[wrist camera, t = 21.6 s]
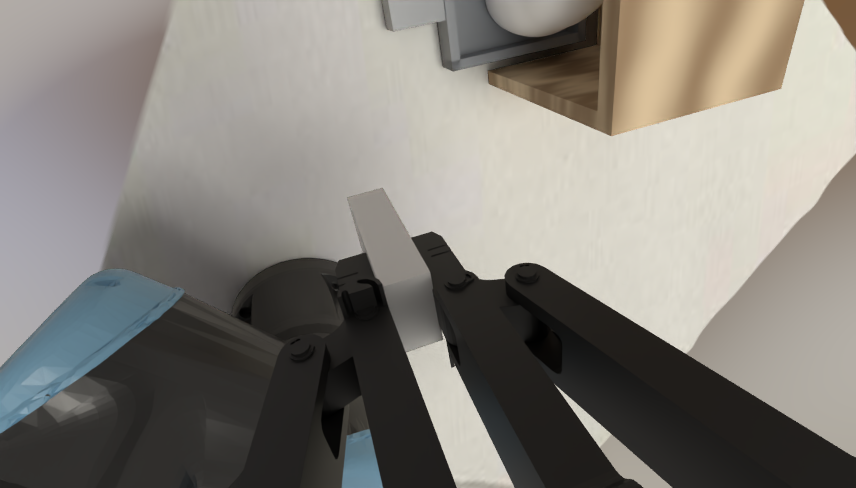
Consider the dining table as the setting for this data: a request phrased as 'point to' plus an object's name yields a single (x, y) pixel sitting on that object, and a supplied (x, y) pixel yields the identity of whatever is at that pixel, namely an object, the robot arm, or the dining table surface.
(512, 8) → the figurine
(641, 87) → the box
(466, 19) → the tray
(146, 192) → the dining table surface
